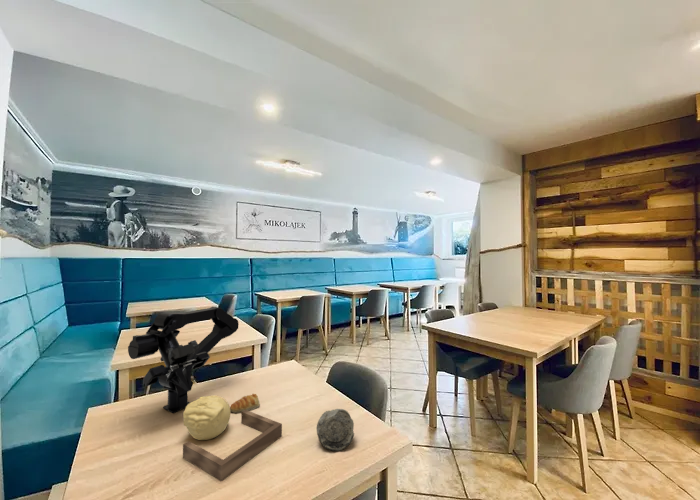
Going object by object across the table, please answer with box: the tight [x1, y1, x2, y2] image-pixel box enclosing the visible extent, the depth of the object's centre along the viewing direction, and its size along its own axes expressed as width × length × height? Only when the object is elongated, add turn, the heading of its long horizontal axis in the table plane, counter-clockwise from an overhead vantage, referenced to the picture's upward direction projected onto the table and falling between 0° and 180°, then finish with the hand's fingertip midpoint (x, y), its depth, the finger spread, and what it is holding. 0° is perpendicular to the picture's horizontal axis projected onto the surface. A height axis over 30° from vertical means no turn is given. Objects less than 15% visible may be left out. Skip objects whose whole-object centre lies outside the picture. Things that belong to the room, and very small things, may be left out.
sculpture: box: [182, 394, 231, 441], centre depth 88 cm, size 11×12×11 cm
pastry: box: [229, 393, 261, 414], centre depth 103 cm, size 9×7×4 cm
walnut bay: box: [182, 410, 283, 482], centre depth 82 cm, size 16×20×4 cm
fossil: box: [316, 408, 355, 452], centre depth 85 cm, size 11×9×10 cm
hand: (189, 390), depth 93 cm, fingers closed
